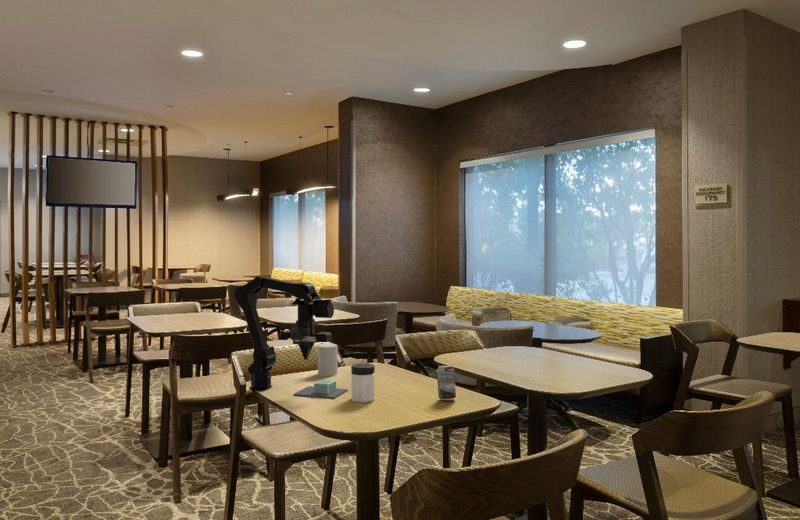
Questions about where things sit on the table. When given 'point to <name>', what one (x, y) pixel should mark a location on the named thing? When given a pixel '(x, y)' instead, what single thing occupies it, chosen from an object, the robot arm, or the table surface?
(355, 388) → the jar
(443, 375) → the beverage can
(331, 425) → the table surface
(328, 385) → the pale teal block
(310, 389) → the mat
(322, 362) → the cup
